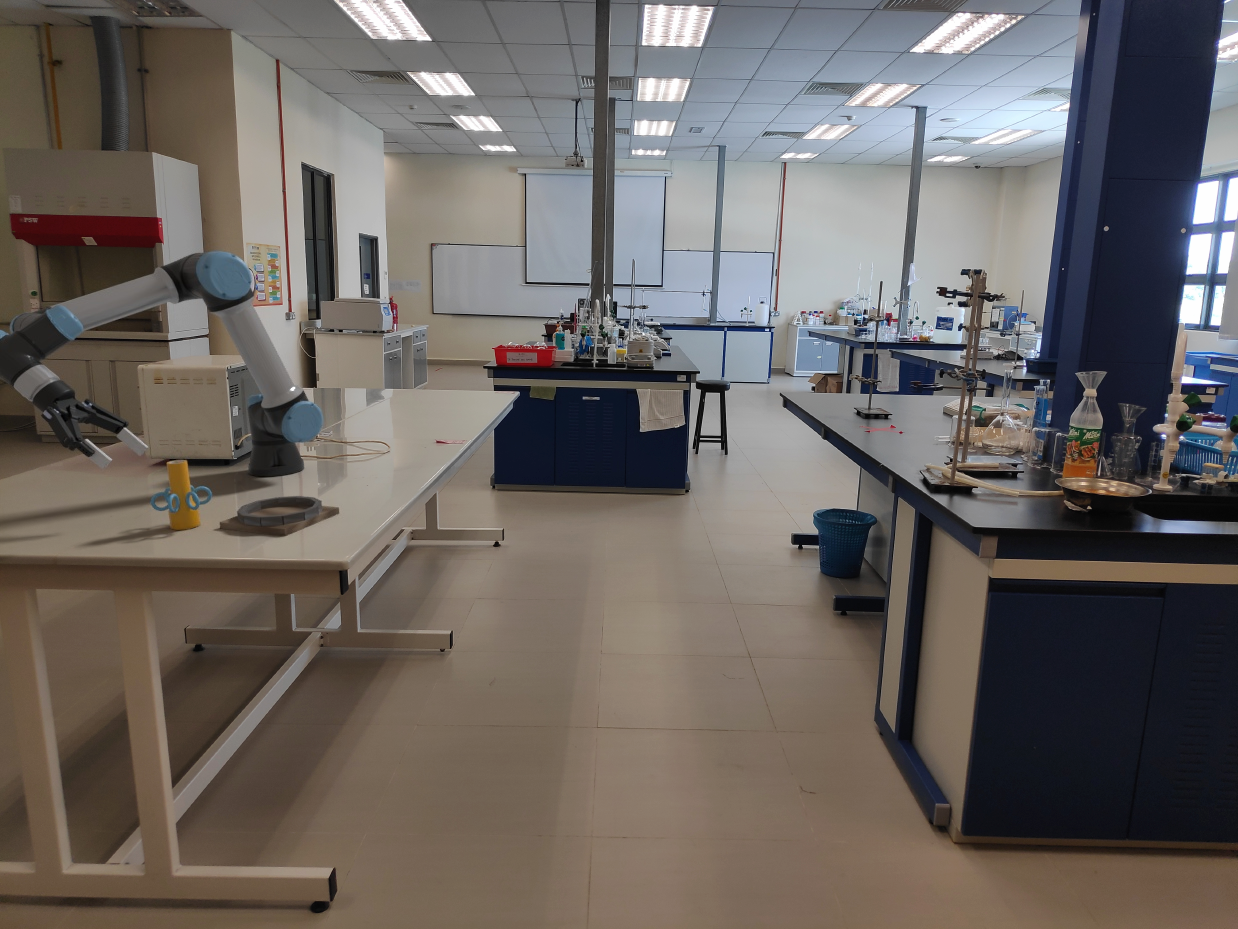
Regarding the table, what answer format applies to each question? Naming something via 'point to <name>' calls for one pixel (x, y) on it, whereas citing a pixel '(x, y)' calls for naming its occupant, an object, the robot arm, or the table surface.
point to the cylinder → (181, 497)
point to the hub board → (279, 527)
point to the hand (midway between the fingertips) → (126, 457)
